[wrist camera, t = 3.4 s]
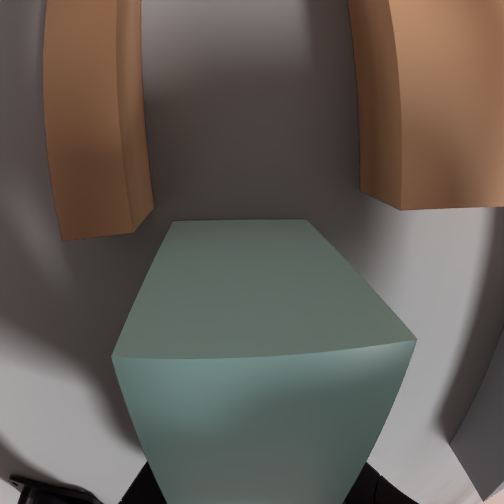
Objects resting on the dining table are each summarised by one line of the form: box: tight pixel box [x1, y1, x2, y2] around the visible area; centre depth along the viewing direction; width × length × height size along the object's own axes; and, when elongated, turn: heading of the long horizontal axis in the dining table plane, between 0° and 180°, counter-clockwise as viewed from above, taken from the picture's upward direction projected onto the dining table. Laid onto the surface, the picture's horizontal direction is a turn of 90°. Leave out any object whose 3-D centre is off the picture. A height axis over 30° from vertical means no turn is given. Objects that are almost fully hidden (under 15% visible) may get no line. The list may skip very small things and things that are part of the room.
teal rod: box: [111, 219, 417, 504], centre depth 7 cm, size 3×12×5 cm, turn 179°
